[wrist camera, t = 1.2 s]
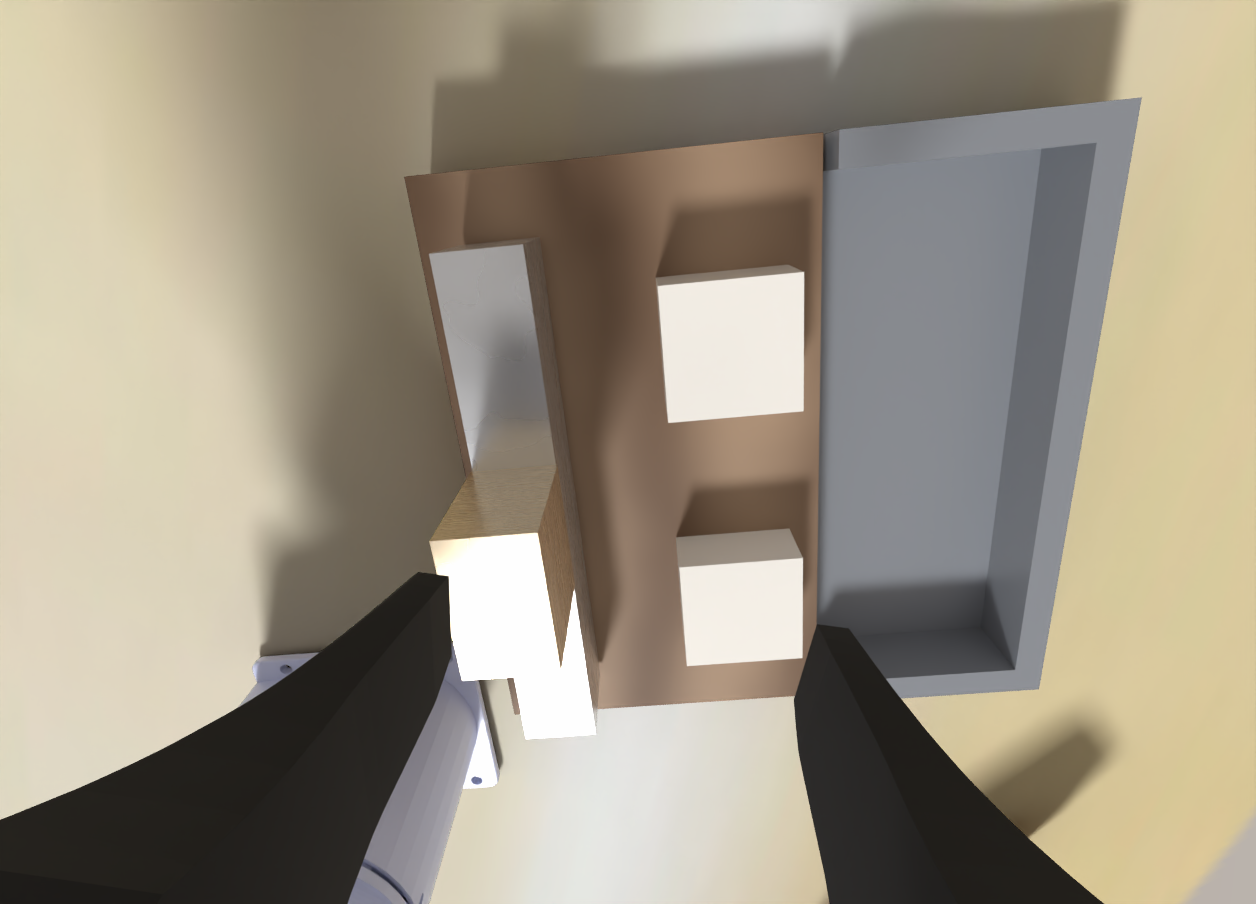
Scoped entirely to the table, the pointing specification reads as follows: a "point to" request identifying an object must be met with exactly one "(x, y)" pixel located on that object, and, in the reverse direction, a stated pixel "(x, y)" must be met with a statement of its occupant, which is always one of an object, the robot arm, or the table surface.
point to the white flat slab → (514, 493)
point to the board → (655, 378)
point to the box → (960, 380)
